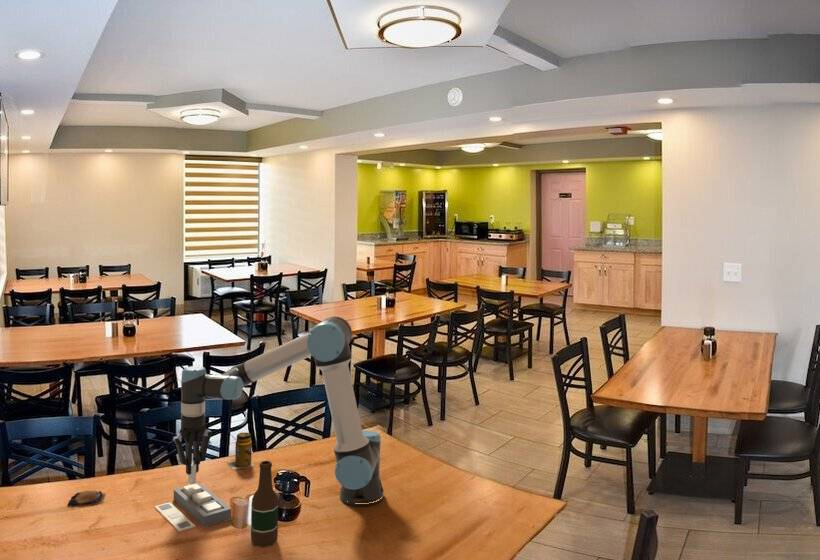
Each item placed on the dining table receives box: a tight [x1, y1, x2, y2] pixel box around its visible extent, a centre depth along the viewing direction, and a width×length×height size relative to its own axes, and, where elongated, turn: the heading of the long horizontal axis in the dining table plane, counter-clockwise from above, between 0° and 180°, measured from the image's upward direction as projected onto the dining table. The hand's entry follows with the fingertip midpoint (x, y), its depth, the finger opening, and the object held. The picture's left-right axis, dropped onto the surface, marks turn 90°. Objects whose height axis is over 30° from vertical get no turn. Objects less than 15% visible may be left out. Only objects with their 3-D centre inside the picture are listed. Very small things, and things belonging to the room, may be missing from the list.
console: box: [173, 482, 233, 528], centre depth 203 cm, size 24×9×4 cm, turn 42°
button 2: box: [202, 502, 222, 513], centre depth 198 cm, size 4×4×2 cm
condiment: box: [227, 432, 256, 470], centre depth 240 cm, size 7×8×12 cm
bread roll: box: [67, 490, 106, 508], centre depth 206 cm, size 11×8×4 cm
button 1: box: [182, 483, 202, 496], centre depth 209 cm, size 4×4×2 cm
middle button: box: [192, 491, 211, 504], centre depth 203 cm, size 4×4×2 cm
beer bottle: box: [250, 460, 279, 548], centre depth 184 cm, size 8×8×24 cm
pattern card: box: [154, 502, 196, 533], centre depth 197 cm, size 20×5×1 cm, turn 42°
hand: (192, 482), depth 208 cm, fingers closed
